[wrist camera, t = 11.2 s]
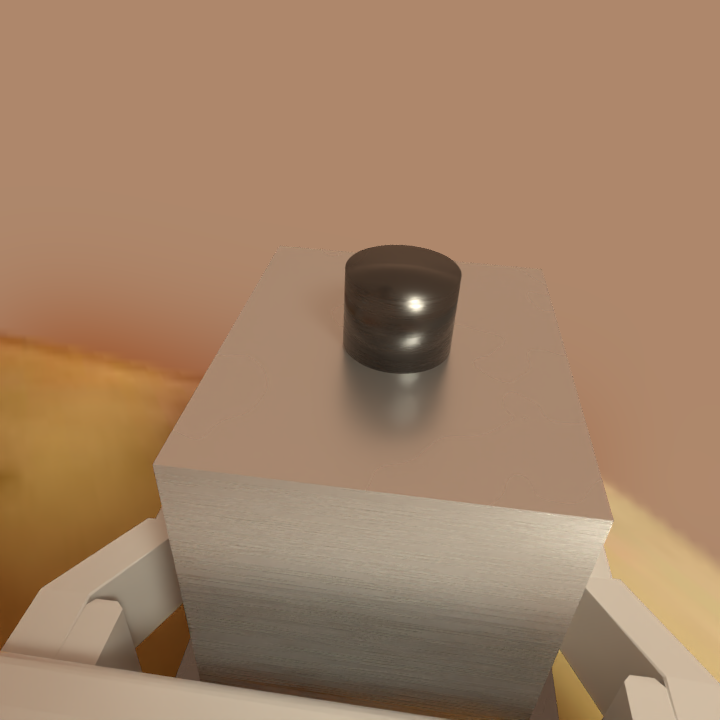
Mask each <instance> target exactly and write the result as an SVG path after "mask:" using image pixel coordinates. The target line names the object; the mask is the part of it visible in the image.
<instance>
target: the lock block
mask: <svg viewBox="0 0 720 720" xmlns="http://www.w3.org/2000/svg"><path fill="white" fill-rule="evenodd" d="M153 468H154V473H155V477H156V482H157V486H158V491H159V496H160V500H161V505H162V509H163V514H164V518H165V523H166V527H167V532H168V536H169V541H170V546H171V550H172V555H173V559H174V564H175V568H176V573H177V577H178V582H179V586H180V591H181V596H182V600H183V605H184V609H185V614H186V618H187V623H188V627H189V632H190V636H191V641H192V646H193V650H194V655H195V659H196V664H197V668H198V673H199V677H200V681H201V682H207V683H214V684H220V685H227V686H234V687H240V688H247V689H253V690H260V691H266V692H273V693H280V694H286V695H293V696H299V697H306V698H313V699H319V700H326V701H333V702H339V703H346V704H352V705H359V706H366V707H372V708H379V709H385V710H392V711H399V712H405V713H412V714H418V715H425V716H432V717H438V718H445V719H451V720H529V719H530V717H531V714H532V712H533V710H534V707H535V705H536V703H537V700H538V698H539V696H540V693H541V691H542V689H543V686H544V684H545V681H546V679H547V677H548V674H549V672H550V670H551V667H552V665H553V663H554V660H555V658H556V656H557V653H558V651H559V649H560V646H561V644H562V641H563V639H564V637H565V634H566V632H567V630H568V627H569V625H570V623H571V620H572V618H573V616H574V613H575V611H576V609H577V606H578V604H579V601H580V599H581V597H582V594H583V592H584V590H585V587H586V585H587V583H588V580H589V578H590V576H591V573H592V571H593V569H594V566H595V564H596V561H597V559H598V557H599V554H600V552H601V550H602V547H603V545H604V543H605V540H606V538H607V536H608V533H609V531H610V529H611V526H612V524H613V521H614V520H613V516H612V513H611V509H610V506H609V502H608V499H607V495H606V492H605V488H604V485H603V481H602V478H601V474H600V471H599V467H598V464H597V460H596V457H595V453H594V450H593V446H592V443H591V440H590V436H589V433H588V429H587V426H586V422H585V418H584V415H583V411H582V408H581V405H580V401H579V397H578V394H577V390H576V387H575V383H574V380H573V376H572V373H571V370H570V366H569V363H568V359H567V355H566V352H565V349H564V345H563V341H562V338H561V334H560V331H559V327H558V324H557V320H556V317H555V313H554V310H553V306H552V303H551V299H550V296H549V292H548V289H547V286H546V282H545V279H544V275H543V271H542V269H531V268H520V267H508V266H498V265H487V264H475V263H464V262H454V261H453V260H451V259H450V258H448V257H447V256H445V255H443V254H440V253H438V252H435V251H432V250H429V249H425V248H421V247H415V246H405V245H385V246H378V247H372V248H368V249H365V250H362V251H359V252H357V253H354V252H343V251H332V250H321V249H309V248H299V247H288V246H279V248H278V249H277V251H276V253H275V254H274V256H273V258H272V260H271V261H270V263H269V265H268V267H267V268H266V270H265V272H264V273H263V275H262V277H261V279H260V280H259V282H258V284H257V285H256V287H255V289H254V291H253V292H252V294H251V296H250V298H249V299H248V301H247V303H246V305H245V306H244V308H243V310H242V311H241V313H240V315H239V317H238V318H237V320H236V322H235V323H234V325H233V327H232V329H231V330H230V332H229V334H228V335H227V337H226V339H225V341H224V343H223V344H222V346H221V348H220V349H219V351H218V353H217V354H216V356H215V358H214V360H213V361H212V363H211V365H210V366H209V368H208V370H207V372H206V373H205V375H204V377H203V378H202V380H201V382H200V384H199V385H198V387H197V389H196V391H195V392H194V394H193V396H192V397H191V399H190V401H189V403H188V404H187V406H186V408H185V409H184V411H183V413H182V415H181V416H180V418H179V420H178V422H177V423H176V425H175V427H174V428H173V430H172V432H171V434H170V435H169V437H168V439H167V441H166V442H165V444H164V446H163V447H162V449H161V451H160V453H159V454H158V456H157V458H156V459H155V461H154V463H153Z"/></svg>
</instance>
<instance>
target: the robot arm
mask: <svg viewBox="0 0 720 720" xmlns="http://www.w3.org/2000/svg"><path fill="white" fill-rule="evenodd" d="M182 604H183V600H182V596H181V591H180V586H179V582H178V577H177V573H176V568H175V564H174V559H173V555H172V550H171V546H170V541H169V536H168V532H167V527H166V523H165V518H164V514H163V509H162V507H161V509H160V511H159V513H158V515H157V517H156V518H147V519H146V520H144V521H143V522H141V523H140V524H138V525H137V526H135V527H134V528H132V529H131V530H129V531H128V532H126V533H125V534H123V535H121V536H120V537H118V538H117V539H115V540H114V541H112V542H111V543H109V544H108V545H106V546H105V547H103V548H102V549H100V550H99V551H97V552H96V553H94V554H93V555H91V556H89V557H88V558H86V559H85V560H83V561H82V562H80V563H79V564H77V565H76V566H74V567H73V568H71V569H70V570H68V571H67V572H65V573H64V574H62V575H61V576H59V577H57V578H56V579H54V580H53V581H51V582H50V583H48V584H47V585H45V586H44V587H42V588H41V589H40V591H39V592H38V594H37V595H36V597H35V598H34V600H33V601H32V603H31V605H30V606H29V608H28V609H27V611H26V612H25V614H24V615H23V617H22V618H21V620H20V621H19V623H18V625H17V626H16V628H15V629H14V631H13V632H12V634H11V635H10V637H9V638H8V640H7V642H6V643H5V645H4V646H3V648H2V649H1V651H0V720H451V719H445V718H438V717H432V716H425V715H418V714H412V713H405V712H399V711H392V710H385V709H379V708H372V707H366V706H359V705H352V704H346V703H339V702H333V701H326V700H319V699H313V698H306V697H299V696H293V695H286V694H280V693H273V692H266V691H260V690H253V689H247V688H240V687H234V686H227V685H220V684H214V683H207V682H201V681H194V680H188V679H181V678H174V677H168V676H161V675H155V674H148V673H142V670H141V666H140V663H139V660H138V657H137V654H136V650H135V648H136V647H137V646H138V645H139V644H140V643H141V642H142V641H143V640H144V639H146V638H147V637H148V636H149V635H150V634H151V633H152V632H153V631H154V630H155V629H156V628H157V627H158V626H159V625H160V624H161V623H163V622H164V621H165V620H166V619H167V618H168V617H169V616H170V615H171V614H172V613H173V612H174V611H175V610H176V609H177V608H178V607H179V606H181V605H182ZM560 651H561V652H562V654H563V655H564V657H565V658H566V660H567V661H568V663H569V664H570V666H571V667H572V669H573V670H574V672H575V673H576V675H577V676H578V678H579V680H580V681H581V683H582V684H583V686H584V687H585V689H586V690H587V692H588V693H589V695H590V696H591V698H592V699H593V701H594V702H595V704H596V705H597V707H598V708H599V710H600V711H601V713H602V715H603V716H604V717H603V719H602V720H720V683H719V682H718V681H717V680H716V679H715V678H714V677H713V676H712V675H711V674H710V673H709V672H708V671H707V670H706V669H705V668H704V667H703V666H702V665H701V664H700V662H699V661H698V660H697V659H696V658H695V657H694V656H693V655H692V654H691V653H690V652H689V651H688V650H687V649H686V648H685V647H684V646H683V645H682V644H681V643H680V642H679V640H678V639H677V638H676V637H675V636H674V635H673V634H672V633H671V632H670V631H669V630H668V629H667V628H666V627H665V626H664V625H663V624H662V623H661V622H660V621H659V620H658V618H657V617H656V616H655V615H654V614H653V613H652V612H651V611H650V610H649V609H648V608H647V607H646V606H645V605H644V604H643V603H642V602H641V601H640V600H639V599H638V598H637V597H636V595H635V594H634V593H633V592H632V591H631V590H630V589H629V588H628V587H627V586H626V585H625V584H624V583H623V582H622V581H621V580H620V579H613V578H612V575H611V571H610V567H609V564H608V560H607V556H606V552H605V549H604V545H603V547H602V550H601V552H600V554H599V557H598V559H597V561H596V564H595V566H594V569H593V571H592V573H591V576H590V578H589V580H588V583H587V585H586V587H585V590H584V592H583V594H582V597H581V599H580V601H579V604H578V606H577V609H576V611H575V613H574V616H573V618H572V620H571V623H570V625H569V627H568V630H567V632H566V634H565V637H564V639H563V641H562V644H561V646H560Z"/></svg>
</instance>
